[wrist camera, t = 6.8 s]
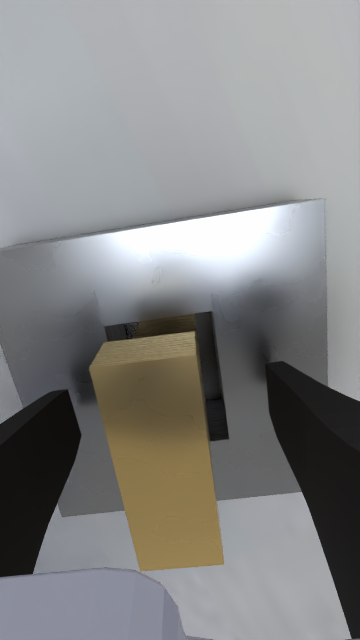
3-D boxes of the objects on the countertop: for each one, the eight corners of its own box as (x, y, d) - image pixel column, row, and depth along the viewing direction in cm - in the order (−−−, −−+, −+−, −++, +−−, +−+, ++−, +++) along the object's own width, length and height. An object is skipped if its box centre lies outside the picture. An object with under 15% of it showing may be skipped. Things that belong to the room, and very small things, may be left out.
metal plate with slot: (81, 468, 18) (62, 516, 15) (11, 245, 14) (-32, 255, 11) (305, 442, 17) (328, 488, 14) (295, 200, 13) (325, 198, 11)
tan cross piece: (158, 418, 17) (140, 571, 10) (135, 289, 15) (89, 367, 8) (207, 413, 17) (224, 564, 10) (190, 282, 15) (196, 354, 8)
